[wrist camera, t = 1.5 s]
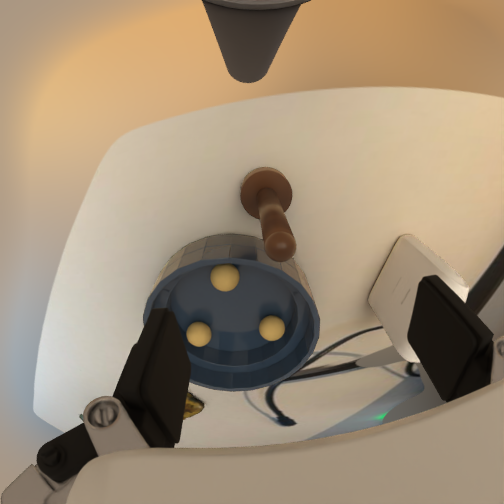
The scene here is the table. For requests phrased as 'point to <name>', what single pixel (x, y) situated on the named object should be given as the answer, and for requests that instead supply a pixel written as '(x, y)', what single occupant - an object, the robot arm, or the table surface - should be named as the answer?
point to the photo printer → (408, 288)
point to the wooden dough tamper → (270, 210)
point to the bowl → (238, 312)
